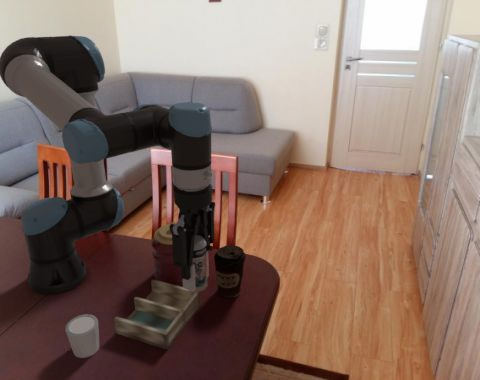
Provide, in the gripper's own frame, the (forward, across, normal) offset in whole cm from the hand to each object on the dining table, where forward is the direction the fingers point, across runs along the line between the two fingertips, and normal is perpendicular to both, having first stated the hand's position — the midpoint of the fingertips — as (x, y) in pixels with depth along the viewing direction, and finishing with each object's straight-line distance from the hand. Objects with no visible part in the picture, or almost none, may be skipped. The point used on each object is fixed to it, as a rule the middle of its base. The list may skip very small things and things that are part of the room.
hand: (196, 281), depth 88 cm
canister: (+17, +18, +19) cm, 31 cm away
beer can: (+2, 0, 0) cm, 2 cm away
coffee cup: (+17, +19, +2) cm, 25 cm away
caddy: (+17, +1, +12) cm, 21 cm away
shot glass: (+17, -14, +21) cm, 30 cm away
